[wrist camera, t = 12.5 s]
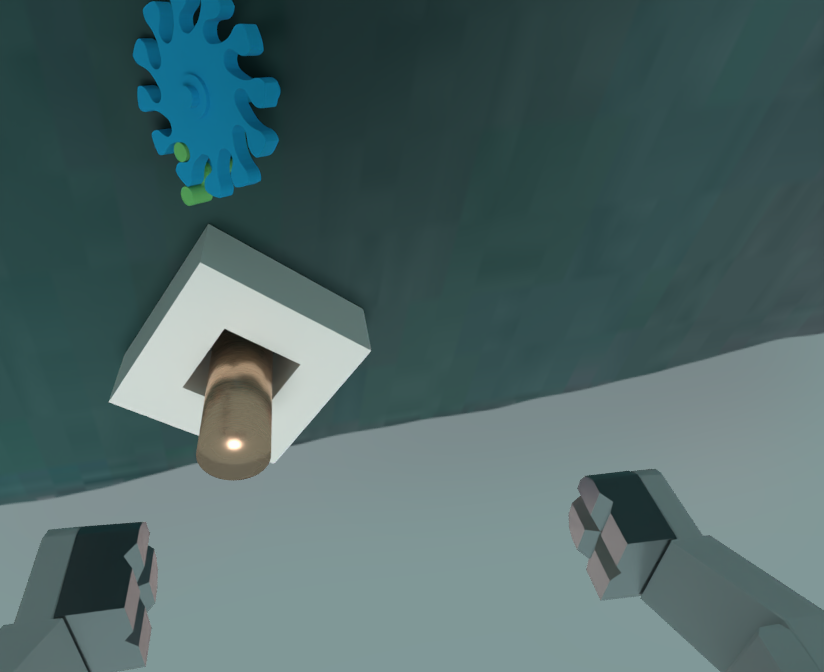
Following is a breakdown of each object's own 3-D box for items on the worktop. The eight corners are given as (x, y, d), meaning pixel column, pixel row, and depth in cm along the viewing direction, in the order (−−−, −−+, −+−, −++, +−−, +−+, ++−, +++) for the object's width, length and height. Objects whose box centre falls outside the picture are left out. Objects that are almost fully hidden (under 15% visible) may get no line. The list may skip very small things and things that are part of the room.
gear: (131, -61, 29) (278, 45, 26) (231, -47, 33) (367, 45, 30) (114, 152, 35) (230, 253, 33) (200, 140, 40) (308, 228, 37)
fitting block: (124, 354, 43) (108, 401, 39) (208, 223, 39) (200, 262, 35) (274, 416, 49) (274, 463, 45) (363, 309, 44) (371, 350, 40)
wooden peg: (204, 339, 44) (183, 466, 34) (232, 298, 42) (219, 419, 33) (254, 362, 46) (248, 488, 36) (283, 324, 44) (284, 445, 35)
